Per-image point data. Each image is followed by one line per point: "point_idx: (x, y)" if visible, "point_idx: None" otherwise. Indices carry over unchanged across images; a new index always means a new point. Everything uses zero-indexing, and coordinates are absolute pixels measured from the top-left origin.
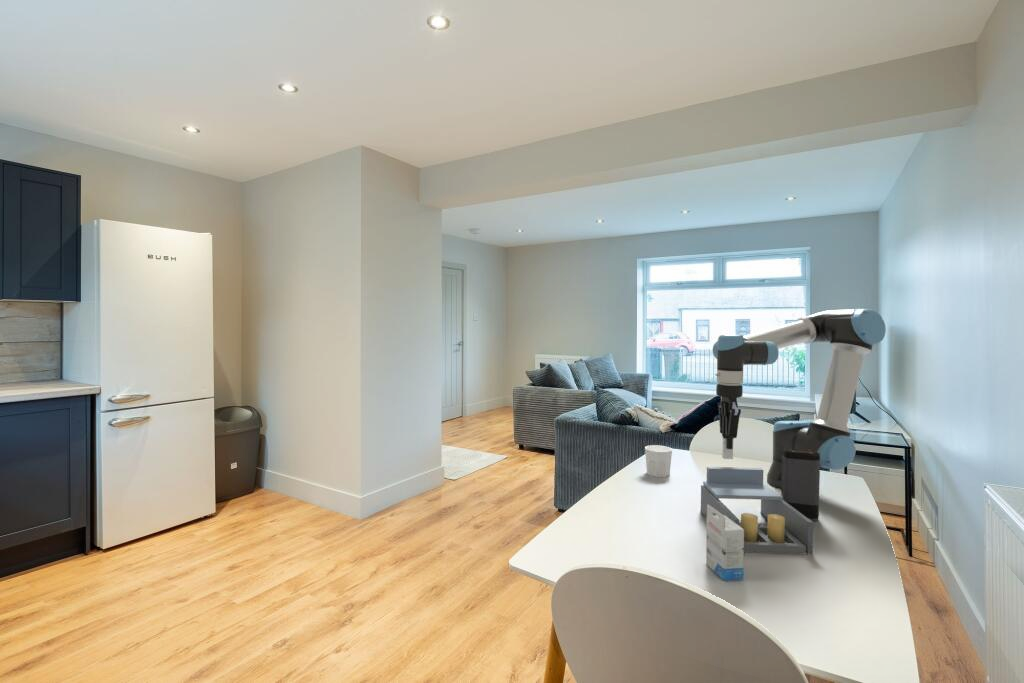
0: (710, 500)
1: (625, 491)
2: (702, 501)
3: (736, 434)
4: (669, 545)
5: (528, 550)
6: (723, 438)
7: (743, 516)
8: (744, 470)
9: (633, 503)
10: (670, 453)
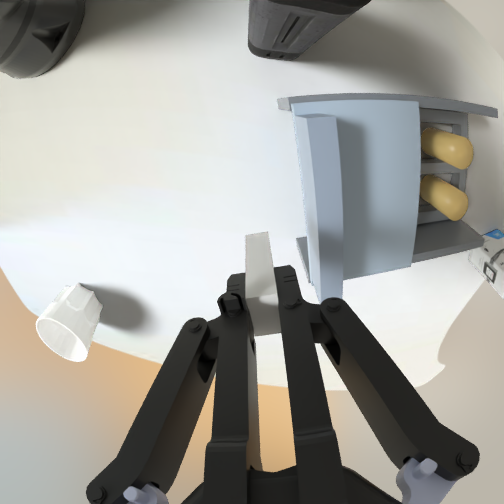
0: None
1: None
2: None
3: (354, 315)
4: (426, 297)
5: None
6: (266, 331)
7: (458, 218)
8: (340, 191)
9: (276, 344)
10: (62, 318)
